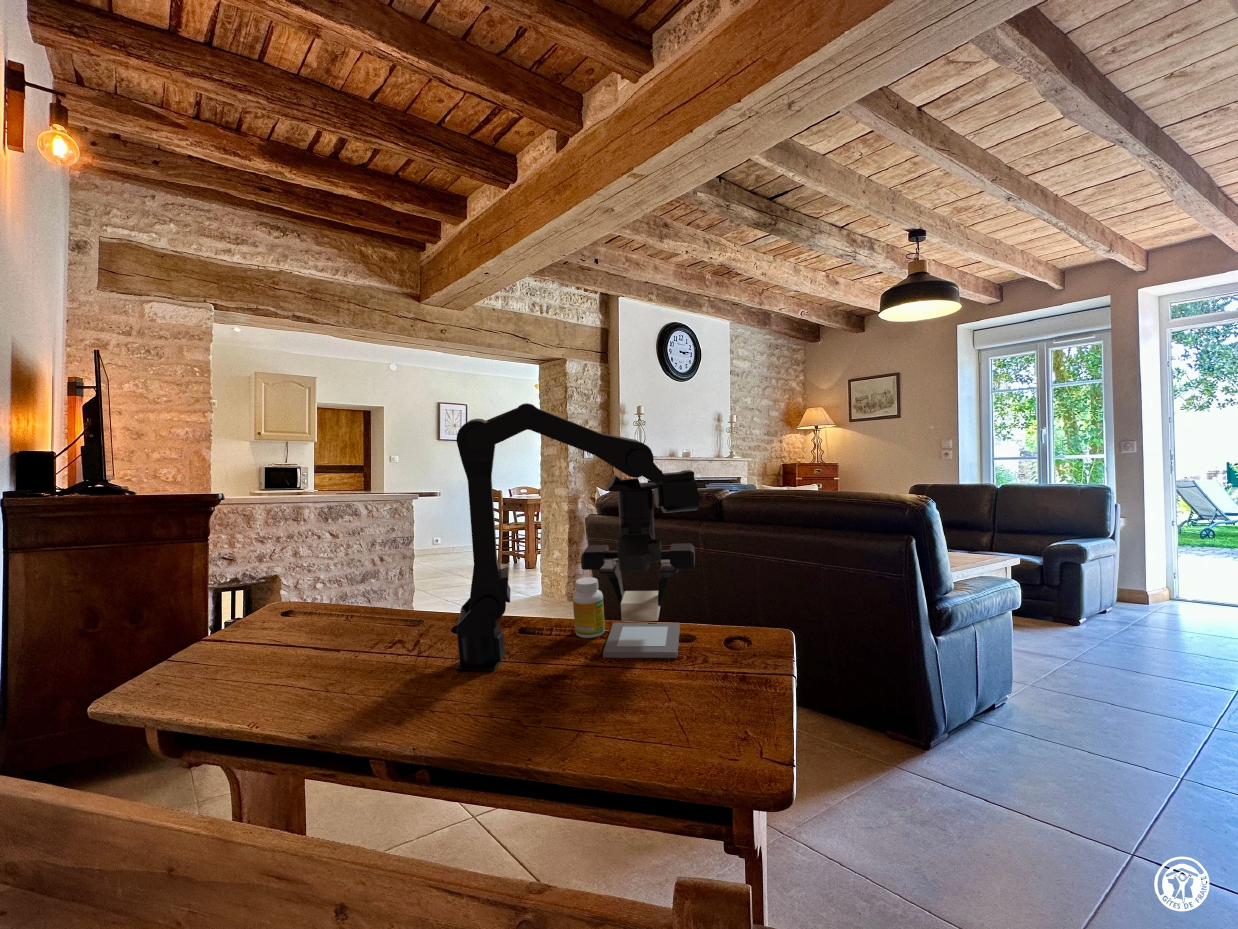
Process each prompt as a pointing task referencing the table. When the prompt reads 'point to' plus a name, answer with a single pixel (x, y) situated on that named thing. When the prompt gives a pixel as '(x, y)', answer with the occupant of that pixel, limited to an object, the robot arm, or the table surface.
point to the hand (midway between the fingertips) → (640, 605)
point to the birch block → (640, 606)
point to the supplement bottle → (588, 608)
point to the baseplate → (642, 640)
